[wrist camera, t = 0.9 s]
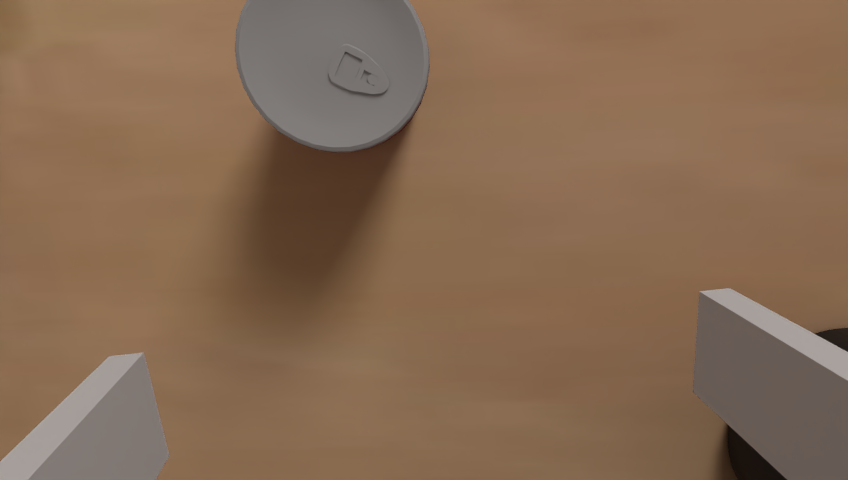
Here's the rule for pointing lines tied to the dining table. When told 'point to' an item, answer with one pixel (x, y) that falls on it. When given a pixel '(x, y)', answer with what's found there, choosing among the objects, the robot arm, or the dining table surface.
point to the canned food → (333, 68)
